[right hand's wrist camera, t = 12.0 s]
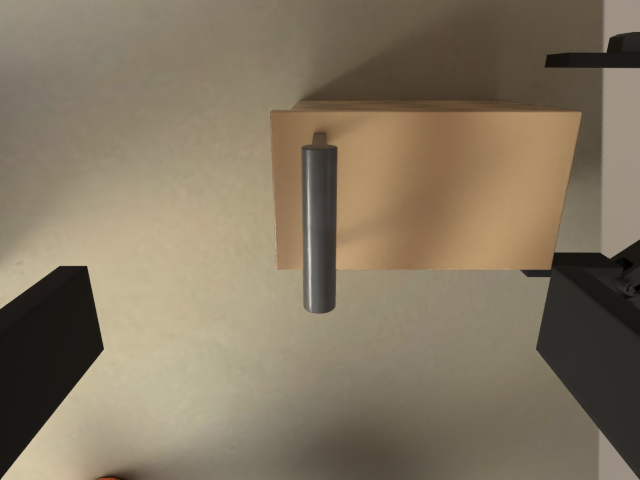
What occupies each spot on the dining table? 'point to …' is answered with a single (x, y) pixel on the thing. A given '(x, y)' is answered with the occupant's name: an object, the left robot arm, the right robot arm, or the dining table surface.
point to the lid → (417, 190)
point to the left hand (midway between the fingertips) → (535, 170)
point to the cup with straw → (107, 479)
